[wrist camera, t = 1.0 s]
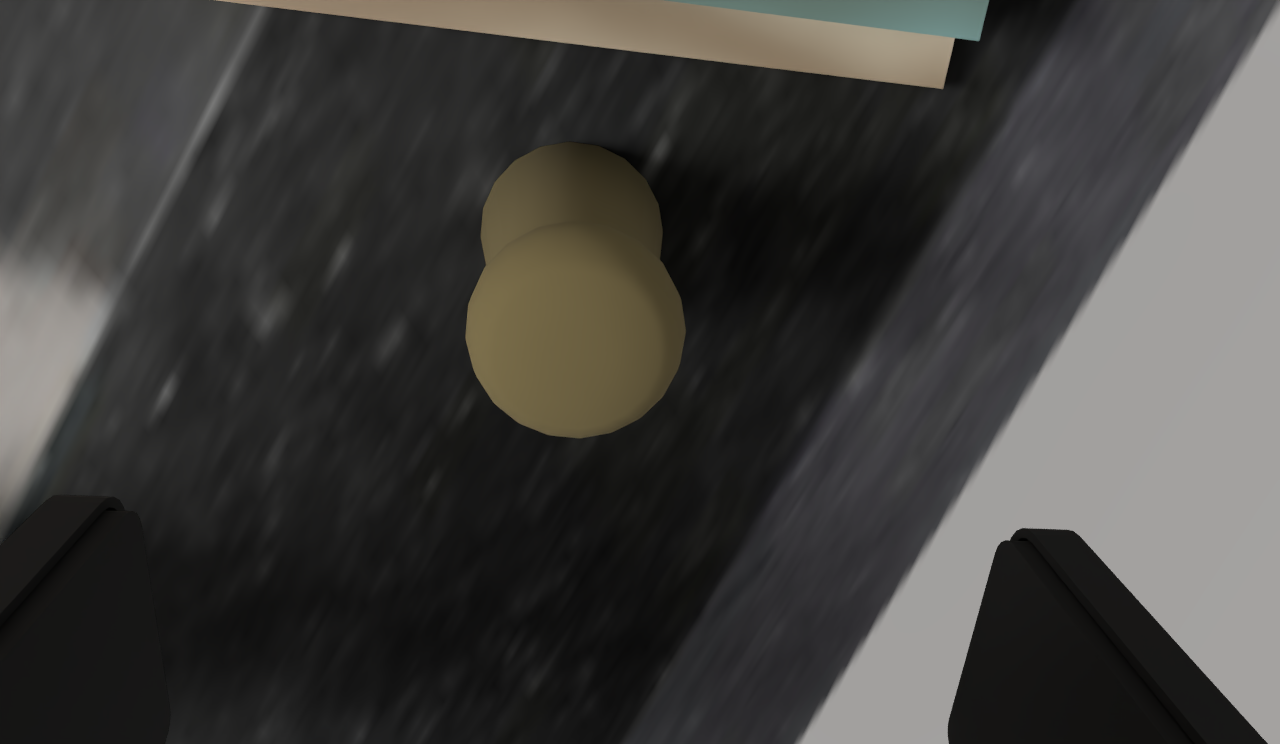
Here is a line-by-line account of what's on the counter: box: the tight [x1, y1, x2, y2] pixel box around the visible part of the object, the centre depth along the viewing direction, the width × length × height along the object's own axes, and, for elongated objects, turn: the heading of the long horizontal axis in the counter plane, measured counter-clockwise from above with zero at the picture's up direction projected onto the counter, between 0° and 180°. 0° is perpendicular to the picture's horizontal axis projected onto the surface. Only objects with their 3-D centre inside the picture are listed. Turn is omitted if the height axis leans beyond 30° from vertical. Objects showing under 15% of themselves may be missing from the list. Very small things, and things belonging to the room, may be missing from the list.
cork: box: [465, 142, 686, 438], centre depth 25 cm, size 6×6×11 cm
